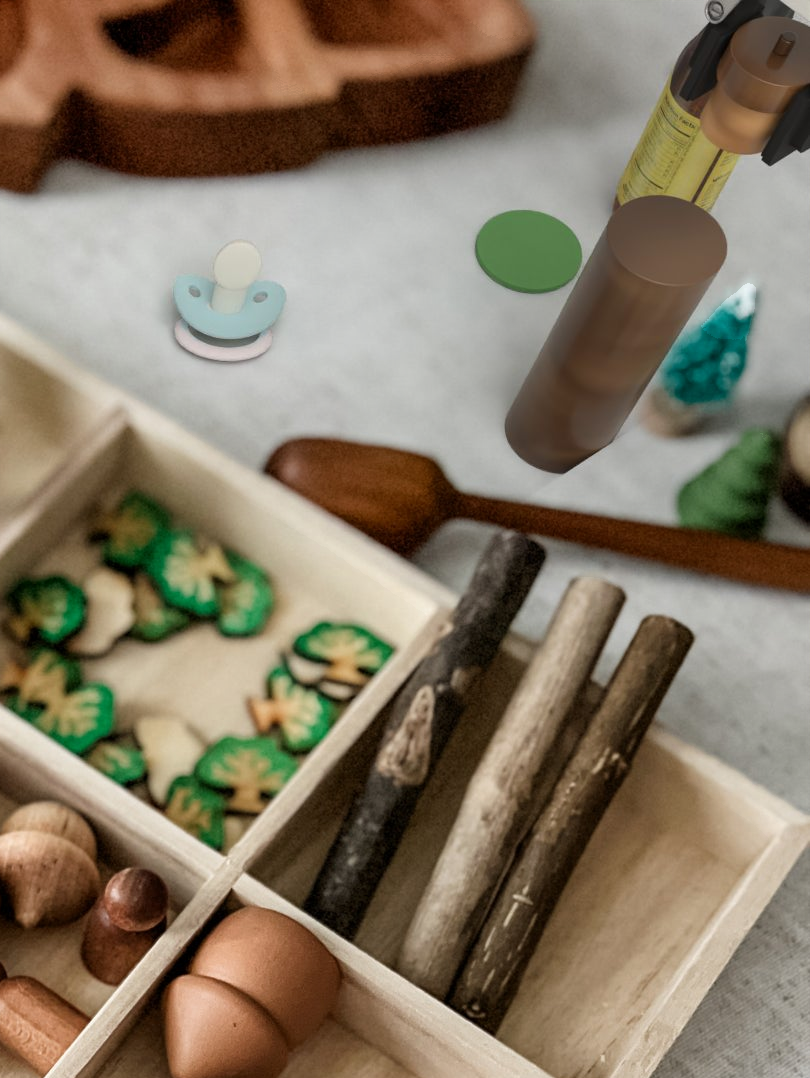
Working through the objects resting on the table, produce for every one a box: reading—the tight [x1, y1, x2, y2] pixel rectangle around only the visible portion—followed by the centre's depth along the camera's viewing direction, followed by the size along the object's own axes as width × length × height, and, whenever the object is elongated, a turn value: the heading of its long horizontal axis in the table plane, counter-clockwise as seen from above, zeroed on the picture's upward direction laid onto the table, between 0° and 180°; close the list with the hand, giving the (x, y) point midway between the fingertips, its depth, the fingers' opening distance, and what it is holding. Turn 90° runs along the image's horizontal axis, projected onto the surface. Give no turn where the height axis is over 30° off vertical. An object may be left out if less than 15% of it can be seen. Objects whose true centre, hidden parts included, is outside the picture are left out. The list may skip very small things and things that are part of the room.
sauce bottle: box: [612, 0, 796, 214], centre depth 106 cm, size 7×6×20 cm
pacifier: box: [172, 238, 287, 362], centre depth 109 cm, size 7×6×6 cm
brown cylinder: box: [504, 195, 728, 474], centre depth 101 cm, size 7×7×16 cm
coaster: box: [474, 209, 583, 294], centre depth 114 cm, size 7×7×1 cm
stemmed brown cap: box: [700, 17, 810, 156], centre depth 84 cm, size 5×5×5 cm
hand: (744, 116), depth 86 cm, fingers closed on stemmed brown cap, 4 cm apart
